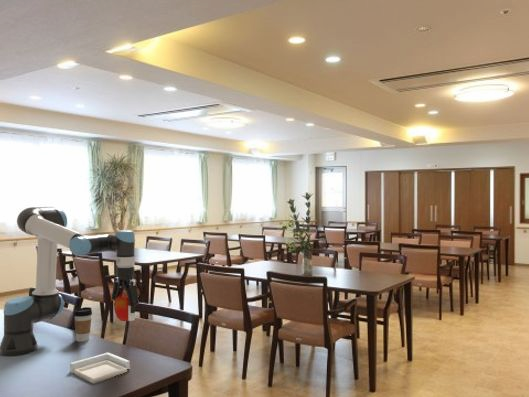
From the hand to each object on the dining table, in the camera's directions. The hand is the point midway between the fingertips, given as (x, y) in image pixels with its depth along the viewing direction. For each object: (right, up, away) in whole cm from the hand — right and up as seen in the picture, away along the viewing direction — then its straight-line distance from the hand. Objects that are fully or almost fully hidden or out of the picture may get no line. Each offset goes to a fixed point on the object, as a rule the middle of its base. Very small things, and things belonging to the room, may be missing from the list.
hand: (124, 318), depth 198 cm
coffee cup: (-28, -17, +26) cm, 42 cm away
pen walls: (-6, -17, -14) cm, 23 cm away
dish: (-4, -17, -17) cm, 25 cm away
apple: (0, -1, 0) cm, 1 cm away
